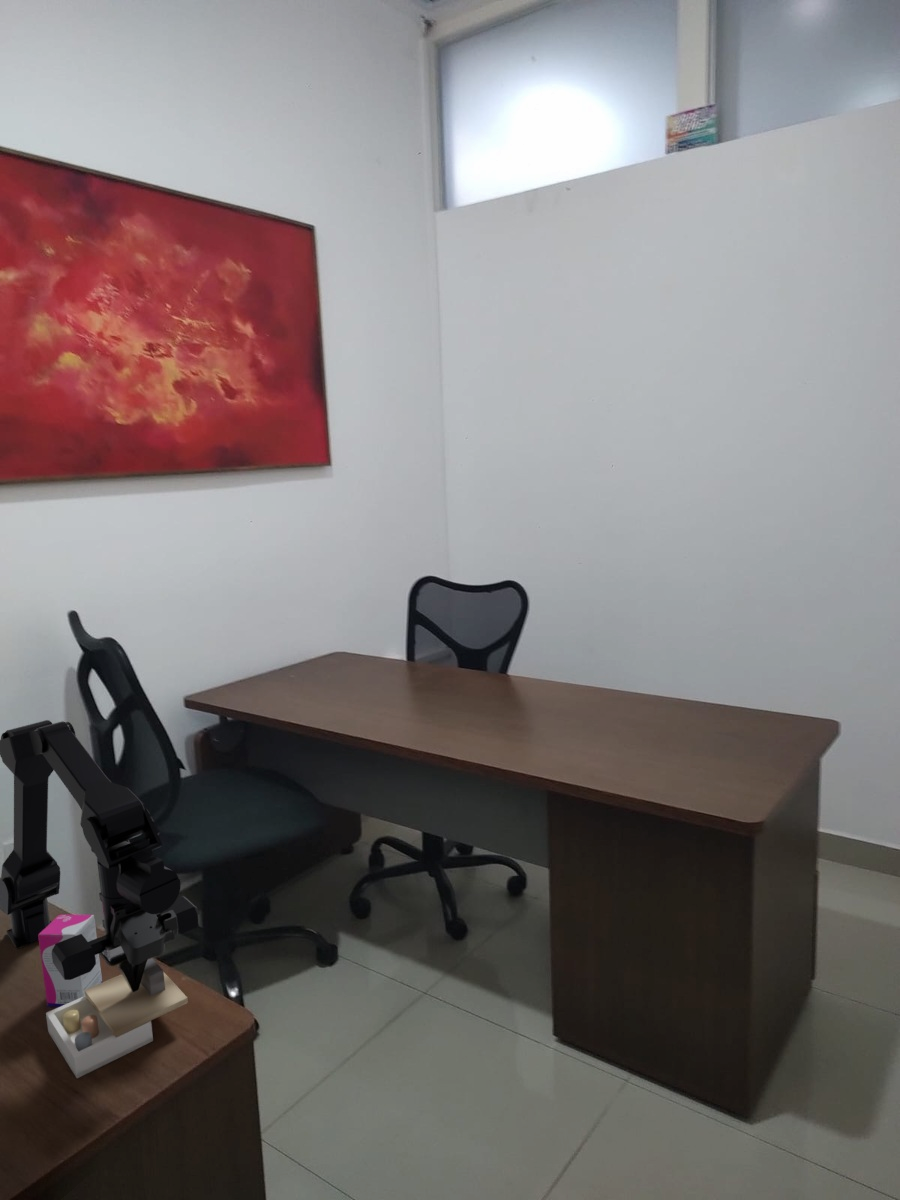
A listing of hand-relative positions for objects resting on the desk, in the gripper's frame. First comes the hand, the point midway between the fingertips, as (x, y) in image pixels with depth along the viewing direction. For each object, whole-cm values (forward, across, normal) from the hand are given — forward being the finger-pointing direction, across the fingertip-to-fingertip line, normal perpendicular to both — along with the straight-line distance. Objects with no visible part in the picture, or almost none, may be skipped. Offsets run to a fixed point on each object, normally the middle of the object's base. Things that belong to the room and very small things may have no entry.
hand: (134, 990), depth 117 cm
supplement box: (+5, -5, +12) cm, 14 cm away
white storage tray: (+4, -5, 0) cm, 7 cm away
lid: (+1, 0, 0) cm, 1 cm away
